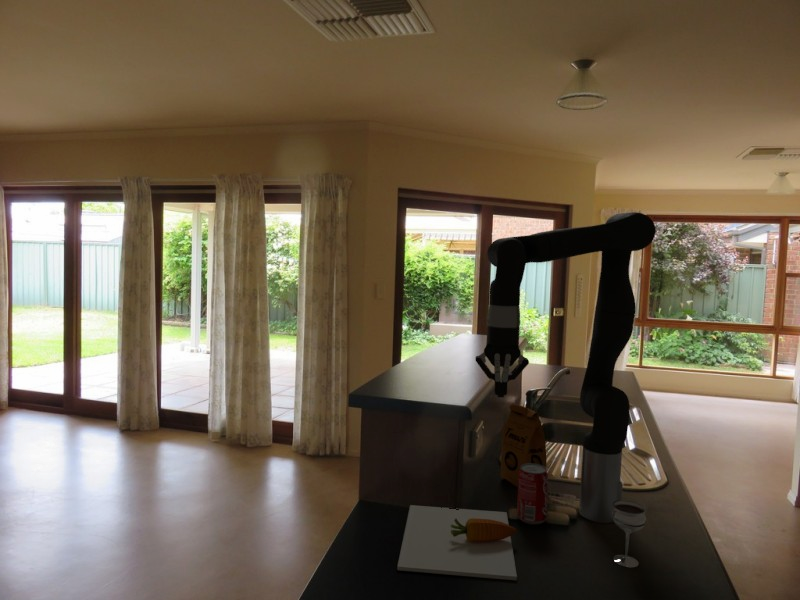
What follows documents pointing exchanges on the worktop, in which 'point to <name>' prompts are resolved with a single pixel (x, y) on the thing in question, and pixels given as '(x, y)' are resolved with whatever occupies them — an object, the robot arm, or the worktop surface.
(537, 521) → the soda can
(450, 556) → the rubber mat
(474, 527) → the carrot
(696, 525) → the worktop surface
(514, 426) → the coffee package
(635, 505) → the wineglass
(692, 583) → the worktop surface
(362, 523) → the worktop surface
